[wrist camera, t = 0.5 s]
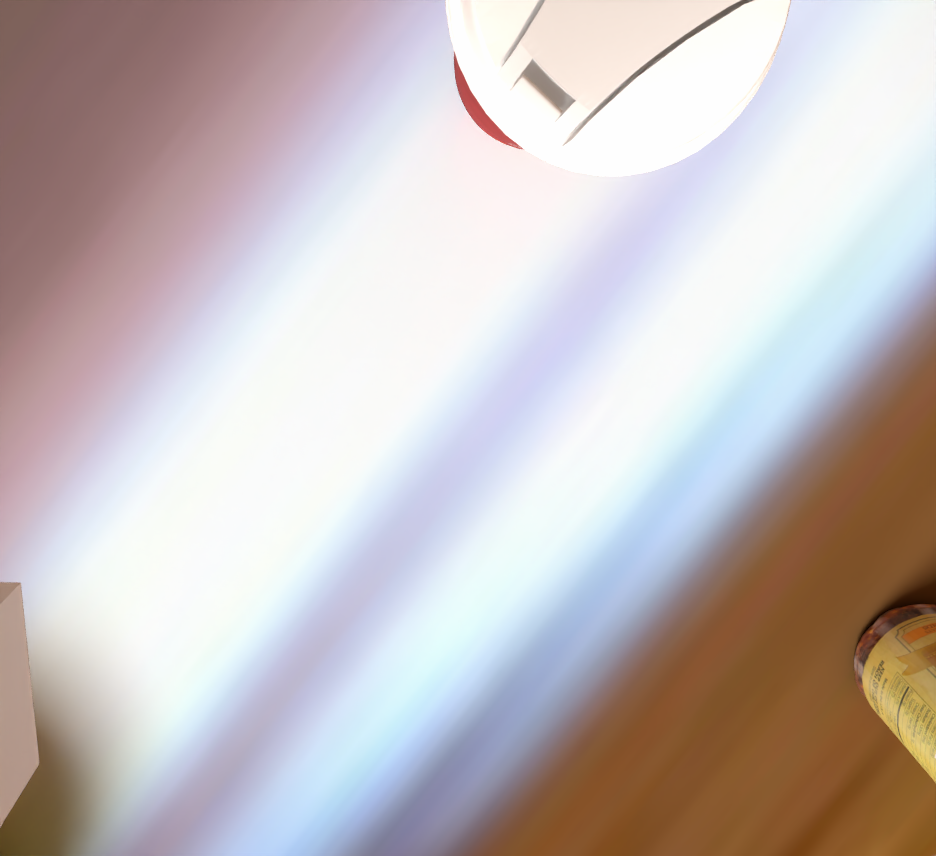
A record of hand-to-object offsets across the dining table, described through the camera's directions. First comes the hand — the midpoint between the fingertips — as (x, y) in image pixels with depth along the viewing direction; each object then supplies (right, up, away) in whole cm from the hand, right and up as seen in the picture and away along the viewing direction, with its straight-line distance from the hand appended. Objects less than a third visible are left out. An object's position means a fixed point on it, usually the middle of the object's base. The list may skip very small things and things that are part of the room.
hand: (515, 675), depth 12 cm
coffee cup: (+2, +18, +21) cm, 28 cm away
